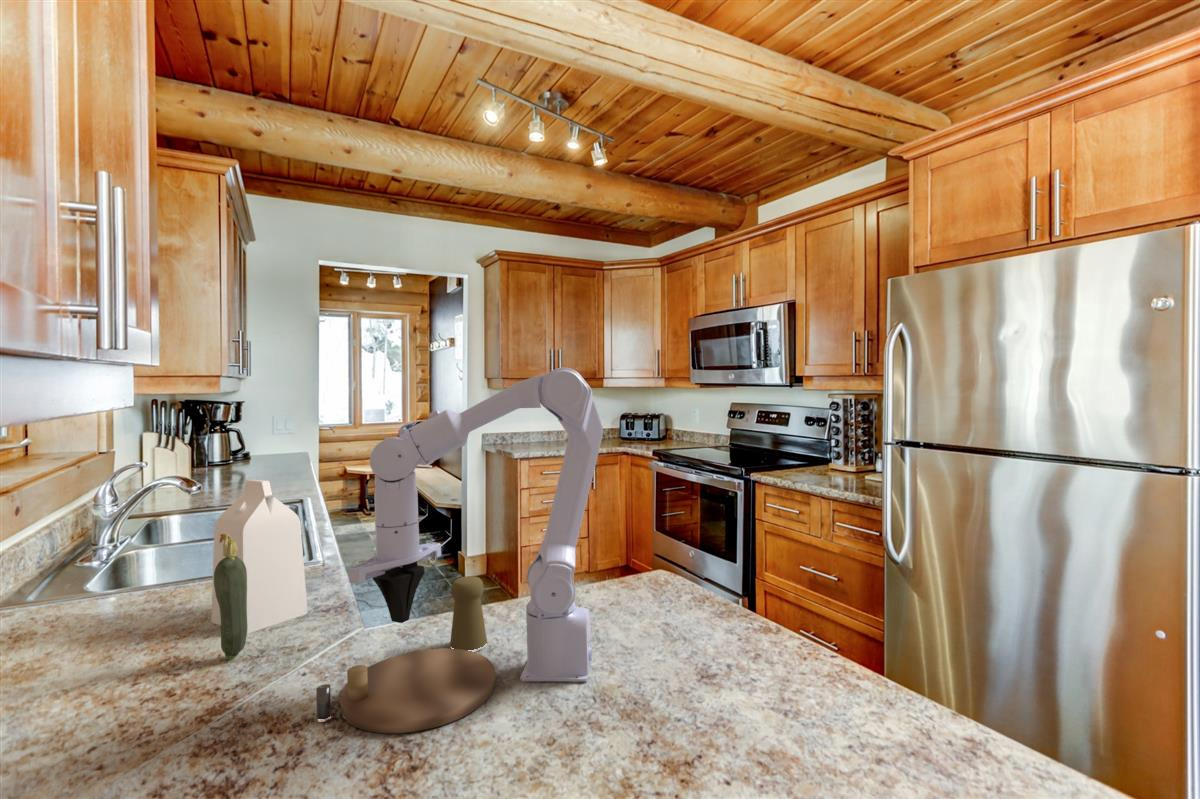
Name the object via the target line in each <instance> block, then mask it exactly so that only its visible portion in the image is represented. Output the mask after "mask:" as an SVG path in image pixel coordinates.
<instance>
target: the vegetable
mask: <svg viewBox="0 0 1200 799" xmlns="http://www.w3.org/2000/svg"><path fill="white" fill-rule="evenodd" d="M220 536H221V538H220V542H219V543H221V542H222V541H223V540H224V544H223V556H225V557H226V558H224V559H222V560H221V561H220V562H219V563H218V564H217V566H216V568H215V572H214V587H215V592H216V598H217V601H218V604H219V607H220V616H221V626H220V647H221V650H222V652H223V653H224V659H225V660H231V661H232V660H234V659H235V658H236V657H237V656H238V655H239V653H241V651H242V650H243V649H244V648H245V646H246V642H247V636H248V634H247V571H246V567H245V564H244V562H243V561H242V560H241V559H240V558H238V557H237V551H238V547H237V543H236V542H235V541H234V539H232V537H231V536H229V535H228V534H225V533H222V534H221V535H220ZM222 539H223V540H222Z"/></svg>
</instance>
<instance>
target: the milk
mask: <svg viewBox="0 0 1200 799" xmlns="http://www.w3.org/2000/svg"><path fill="white" fill-rule="evenodd" d="M213 533H214V534H213V535H214V536H213V561H212V563H213V564H212V590H211V591H212V592H211V595H212V596H211V623H212V622H213V624H214V625H218V626H220V627H221V616H220V607H219V604H218V601H217V598H216V592H215V587H214V572H215V568H216V566H217V564H218V563H219V562H220V561H221V560H222V559H224V558H226V557H225V556H223V544H224V540H223V539H222V540H223V541H222V542H221V543H219V542H220V538H221V536H220V535H221V534H222V533H225V534H228V535H229V536H231V537H232V539H234V541H235V542H236V543H237V547H238V551H237V557H238V558H240V559H241V560H242V561H243V562H244V564H245V567H246V571H247V635H248V634H250V633H254V632H257V631H261V630H262V629H266V628H269V627H271V626H274V625H277V624H278V625H279V624H281V623H283V622H287V621H289V620H293V619H295V618H298V617H302V616H305V615H307V614H309V610H308V598H307V588H306V577H305V576H306V575H305V566H304V565H305V564H304V563H305V562H304V561H305V560H304V552H303V539H302V538H303V537H302V527H301V520H300V518H299V515H297V513H296V512H295V511H293V510H292V509H291V508H290V507H288V505H286V504H284V503H283V502H281V501H280V500H279V499H277V498H276V497H275V496H273V491H272V487H271V483H270V480H264V479H253V478H251V479H246V480H245V481H244V487H243V491H242V494H241V495H240V496H239V497H238V498H237V499H236V500H235V501H233V503H232V504H231V505H230V506H229V507H228V508H227V509H225V511H224V512H222V514H221V515H220V516H219V517H218V518H217V520H216V521H215V523H214V529H213Z"/></svg>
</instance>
